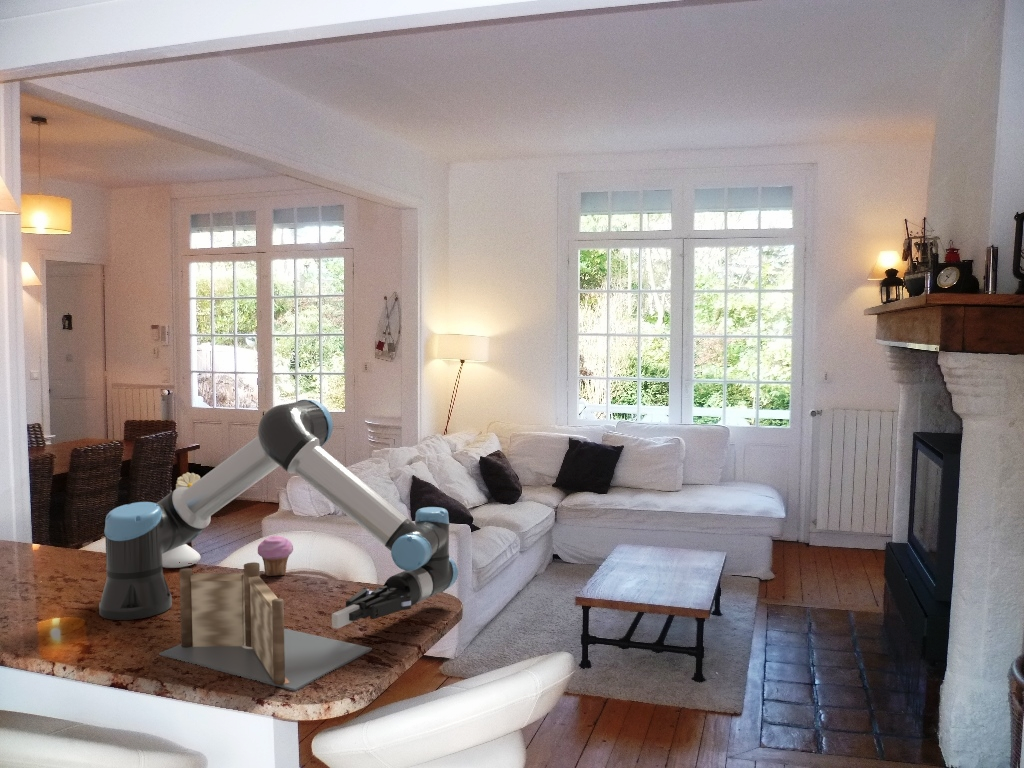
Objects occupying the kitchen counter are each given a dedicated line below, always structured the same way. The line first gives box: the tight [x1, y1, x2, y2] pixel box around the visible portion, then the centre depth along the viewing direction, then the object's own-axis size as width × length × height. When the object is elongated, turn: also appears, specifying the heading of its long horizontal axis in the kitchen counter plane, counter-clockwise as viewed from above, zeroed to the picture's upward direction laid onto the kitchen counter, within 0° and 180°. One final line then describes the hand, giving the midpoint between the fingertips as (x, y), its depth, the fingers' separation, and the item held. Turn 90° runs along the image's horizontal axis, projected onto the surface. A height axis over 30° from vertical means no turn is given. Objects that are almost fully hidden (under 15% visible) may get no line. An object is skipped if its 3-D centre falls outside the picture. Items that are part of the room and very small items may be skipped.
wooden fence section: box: [179, 561, 261, 648], centre depth 173 cm, size 16×3×16 cm, turn 92°
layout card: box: [158, 627, 373, 692], centre depth 171 cm, size 35×22×1 cm, turn 62°
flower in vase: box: [162, 471, 201, 569], centre depth 231 cm, size 13×11×25 cm
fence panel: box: [249, 576, 285, 685], centre depth 163 cm, size 21×2×15 cm, turn 28°
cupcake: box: [257, 535, 294, 577], centre depth 224 cm, size 9×9×10 cm
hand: (334, 621), depth 168 cm, fingers closed
